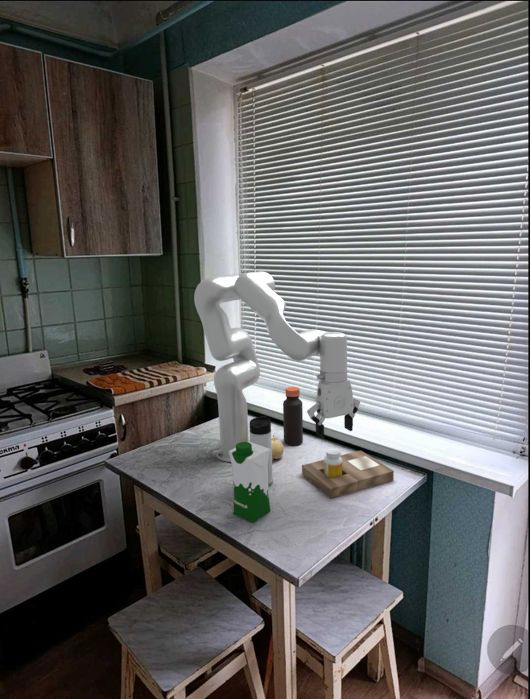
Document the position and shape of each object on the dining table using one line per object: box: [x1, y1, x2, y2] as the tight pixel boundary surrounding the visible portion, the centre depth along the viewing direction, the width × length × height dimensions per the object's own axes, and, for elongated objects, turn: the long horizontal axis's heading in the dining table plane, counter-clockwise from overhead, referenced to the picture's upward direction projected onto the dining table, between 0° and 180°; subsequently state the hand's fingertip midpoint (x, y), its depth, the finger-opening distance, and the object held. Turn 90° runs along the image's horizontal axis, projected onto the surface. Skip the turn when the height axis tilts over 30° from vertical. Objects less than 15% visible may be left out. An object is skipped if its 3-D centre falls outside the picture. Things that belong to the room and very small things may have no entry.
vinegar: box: [282, 386, 304, 447], centre depth 165 cm, size 7×7×20 cm
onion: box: [271, 434, 285, 461], centre depth 155 cm, size 8×8×7 cm
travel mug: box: [249, 415, 274, 488], centre depth 137 cm, size 6×7×20 cm
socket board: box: [301, 449, 395, 500], centre depth 141 cm, size 22×16×3 cm
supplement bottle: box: [323, 448, 342, 479], centre depth 138 cm, size 5×5×10 cm
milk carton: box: [229, 441, 271, 524], centre depth 122 cm, size 9×9×20 cm
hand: (334, 432), depth 135 cm, fingers open, 9 cm apart
